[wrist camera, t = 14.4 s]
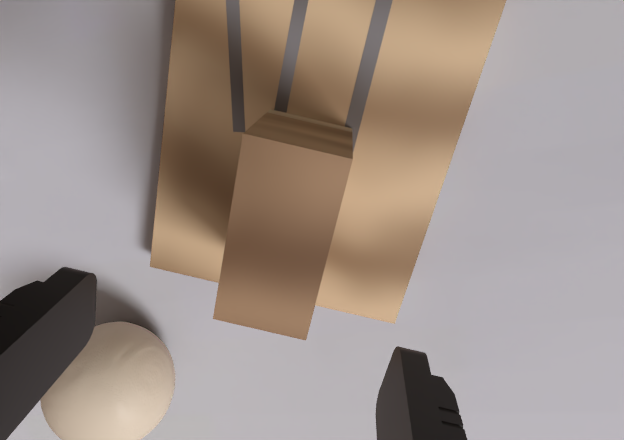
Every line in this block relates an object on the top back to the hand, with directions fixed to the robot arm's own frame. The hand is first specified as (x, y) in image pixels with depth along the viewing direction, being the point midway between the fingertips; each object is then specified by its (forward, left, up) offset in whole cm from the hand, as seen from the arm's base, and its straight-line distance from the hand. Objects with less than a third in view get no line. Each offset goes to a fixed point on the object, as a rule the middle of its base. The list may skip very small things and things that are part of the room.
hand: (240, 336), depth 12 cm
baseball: (+13, -8, -14) cm, 20 cm away
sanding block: (0, 0, -12) cm, 12 cm away
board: (-6, 0, -13) cm, 15 cm away
